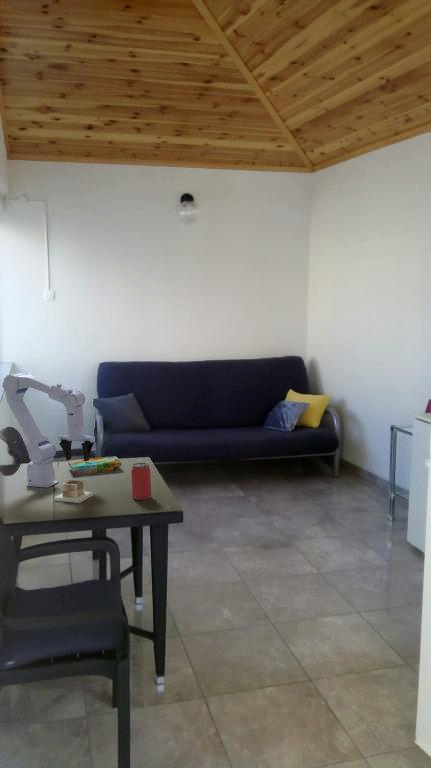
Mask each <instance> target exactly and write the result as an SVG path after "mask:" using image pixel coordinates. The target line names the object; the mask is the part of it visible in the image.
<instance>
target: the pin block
mask: <svg viewBox="0 0 431 768" xmlns="http://www.w3.org/2000/svg"><path fill="white" fill-rule="evenodd" d="M93 495H94V494H93V491H85V493H84V494H82V495H80V496H79V497H77V498H75V497H64V496H63V494H62V493H60V494H58V495H56V496H54V501H56V502H67V503H76V504H81V503H82V502H84V501H86V500H87V499H89V498H91V497H92V496H93Z"/></svg>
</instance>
